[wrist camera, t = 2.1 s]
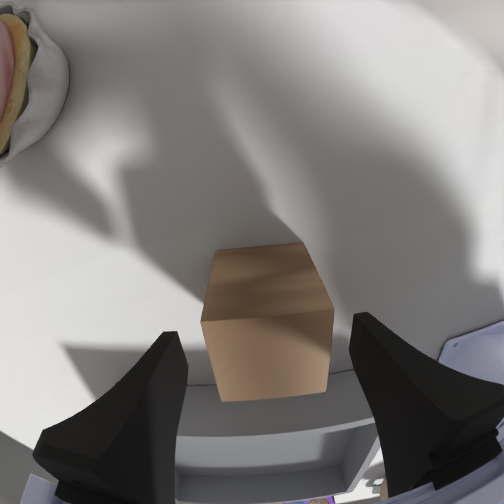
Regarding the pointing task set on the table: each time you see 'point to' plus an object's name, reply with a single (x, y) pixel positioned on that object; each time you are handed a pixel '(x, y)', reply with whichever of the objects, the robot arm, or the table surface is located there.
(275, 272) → the walnut block
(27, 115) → the cupcake
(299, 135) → the table surface
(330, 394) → the grey bin
